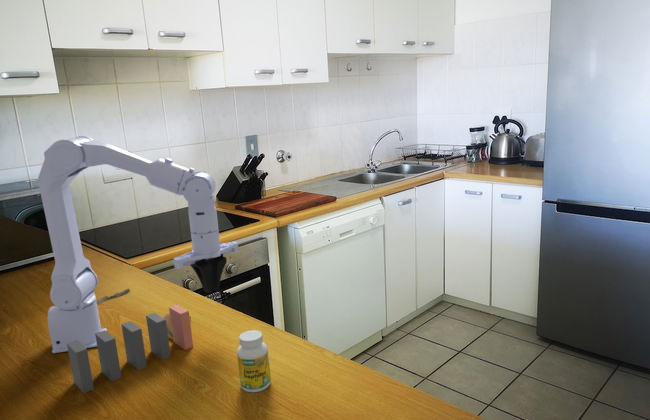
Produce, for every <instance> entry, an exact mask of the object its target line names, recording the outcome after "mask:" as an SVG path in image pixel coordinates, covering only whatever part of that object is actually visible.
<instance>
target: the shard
mask: <svg viewBox="0 0 650 420" xmlns="http://www.w3.org/2000/svg"><path fill="white" fill-rule="evenodd" d="M161 317H162V318H164V319H166V325H167V332H168V339H171V340H173V334H172V326H171V319H170V313H169V314H167V313H166V314H163V315H162V316H161ZM189 317H190V320H192V316H190V315H189Z"/></svg>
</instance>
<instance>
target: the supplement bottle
mask: <svg viewBox="0 0 650 420" xmlns="http://www.w3.org/2000/svg"><path fill="white" fill-rule="evenodd" d="M238 339H239V340H238V341H239V346H238V348H237V351H236V356H237V357H236V358H237V362H238V363H237V364H238V365H237V366H238V373H239V381H240V383H239V384H240V387H241V389H242V390H243V391H244V392H247V393H259V392H262V391H264V390H266V389H268V387H269V386H270V385H271V383H272V380H271V378H272V377H271V368H270V367H271V366H270V357H269V348H268V345H267V344H266V343H265V342H264V338H263V332H262V331H260V330H257V329H256V330H255V329H254V330H253V329H252V330H247V331H243V332H242V333H240V335H239V337H238Z"/></svg>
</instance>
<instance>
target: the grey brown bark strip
mask: <svg viewBox="0 0 650 420" xmlns="http://www.w3.org/2000/svg"><path fill="white" fill-rule="evenodd" d="M130 292H131V290H130V288H126V289H123V290H122V291H120V292H116V293H114V294H112V295H110V296H107V295H105V296H103V297H100V298H99V299H96V302H97V306H99V305H101V304H102V303H104V302H107V301H110V300H112V299H115V298H119V297H122V296H125V295H127V294H128V293H130Z"/></svg>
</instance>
